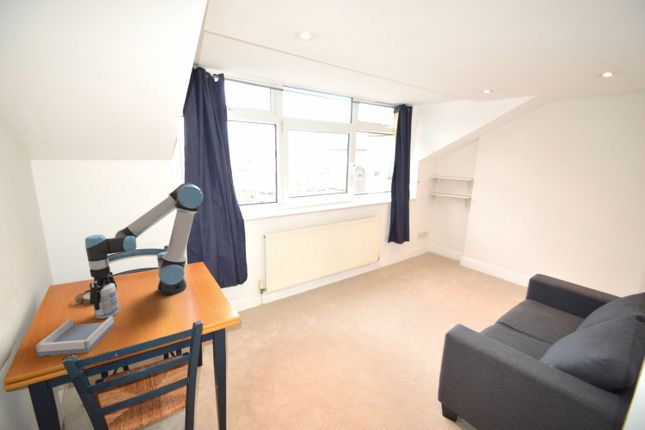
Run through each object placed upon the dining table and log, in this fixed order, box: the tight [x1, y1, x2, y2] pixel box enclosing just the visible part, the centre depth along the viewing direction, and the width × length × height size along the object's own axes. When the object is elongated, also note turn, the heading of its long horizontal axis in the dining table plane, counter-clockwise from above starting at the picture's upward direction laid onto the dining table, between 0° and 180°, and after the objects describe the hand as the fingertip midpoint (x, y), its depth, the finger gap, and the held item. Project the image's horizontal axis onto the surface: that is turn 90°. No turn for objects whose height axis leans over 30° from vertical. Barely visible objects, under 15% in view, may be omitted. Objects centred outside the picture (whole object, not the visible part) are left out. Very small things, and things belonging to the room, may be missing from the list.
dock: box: [35, 315, 115, 357], centre depth 119 cm, size 18×18×5 cm
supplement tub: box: [93, 283, 120, 320], centre depth 138 cm, size 10×10×15 cm
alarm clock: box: [74, 289, 90, 306], centre depth 152 cm, size 11×5×15 cm
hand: (106, 308), depth 139 cm, fingers open, 10 cm apart
